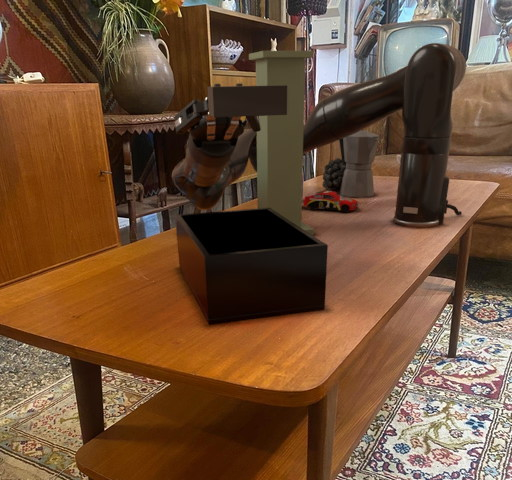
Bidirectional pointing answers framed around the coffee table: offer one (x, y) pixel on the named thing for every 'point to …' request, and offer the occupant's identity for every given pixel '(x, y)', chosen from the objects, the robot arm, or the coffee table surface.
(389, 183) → the coffee table surface
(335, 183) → the fruit
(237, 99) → the dark brown box
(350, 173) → the coffeepot
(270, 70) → the post
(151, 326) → the coffee table surface
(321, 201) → the race car
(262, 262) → the open black box
